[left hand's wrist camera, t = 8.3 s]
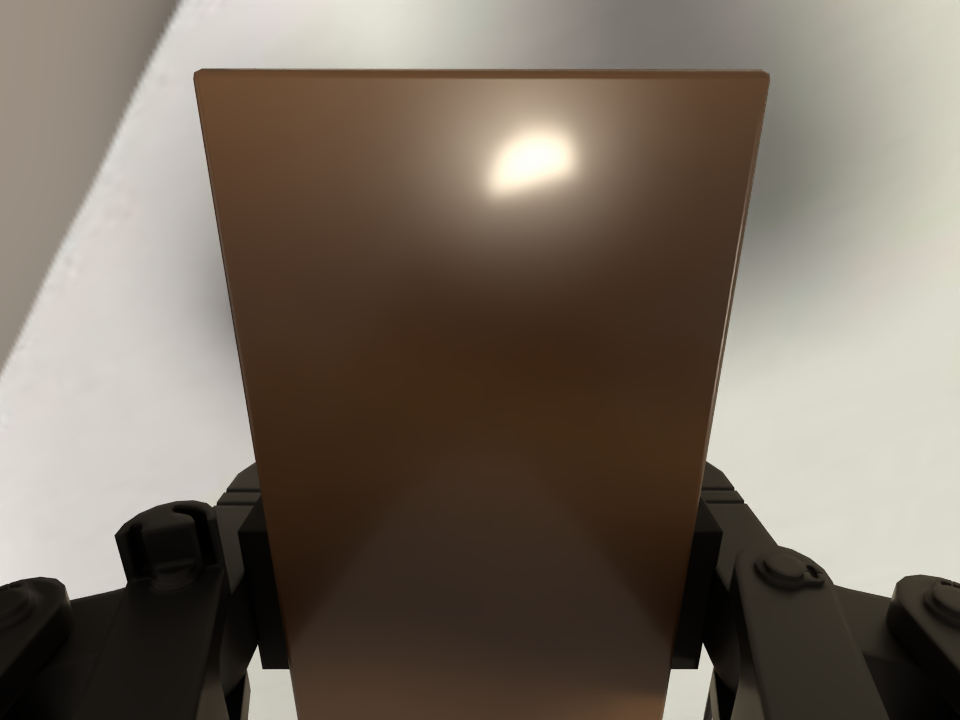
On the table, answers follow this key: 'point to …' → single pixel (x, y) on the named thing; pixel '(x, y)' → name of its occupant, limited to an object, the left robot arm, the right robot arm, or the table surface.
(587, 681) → the post
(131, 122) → the table surface
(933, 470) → the table surface
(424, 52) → the table surface
